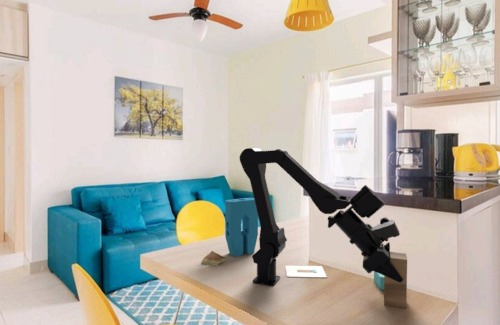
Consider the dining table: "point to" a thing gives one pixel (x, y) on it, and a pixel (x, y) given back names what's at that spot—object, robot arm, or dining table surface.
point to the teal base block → (379, 280)
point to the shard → (213, 259)
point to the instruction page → (305, 271)
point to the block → (234, 235)
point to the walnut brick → (393, 289)
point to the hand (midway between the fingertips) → (401, 277)
